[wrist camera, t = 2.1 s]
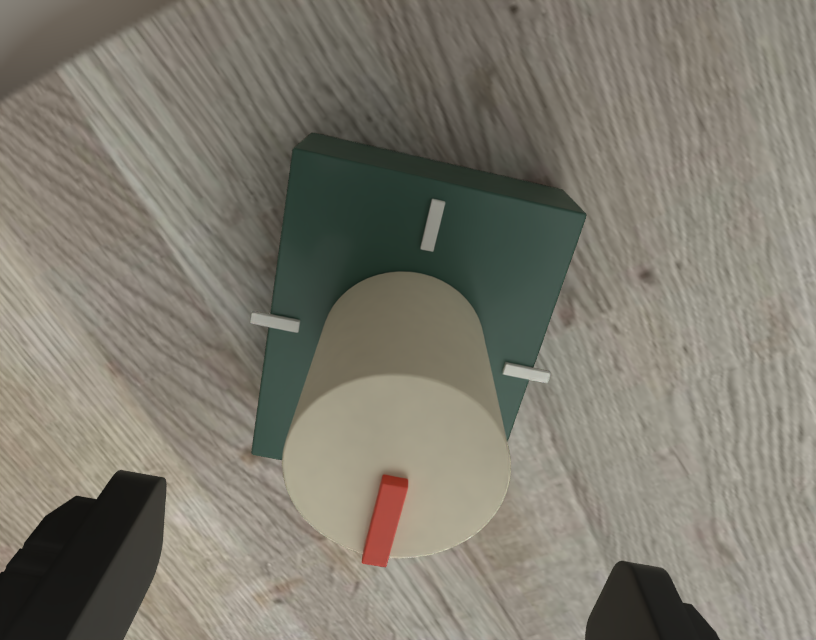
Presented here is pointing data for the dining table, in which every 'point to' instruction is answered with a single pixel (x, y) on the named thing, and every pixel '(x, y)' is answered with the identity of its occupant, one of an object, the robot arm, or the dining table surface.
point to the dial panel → (410, 260)
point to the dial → (398, 423)
